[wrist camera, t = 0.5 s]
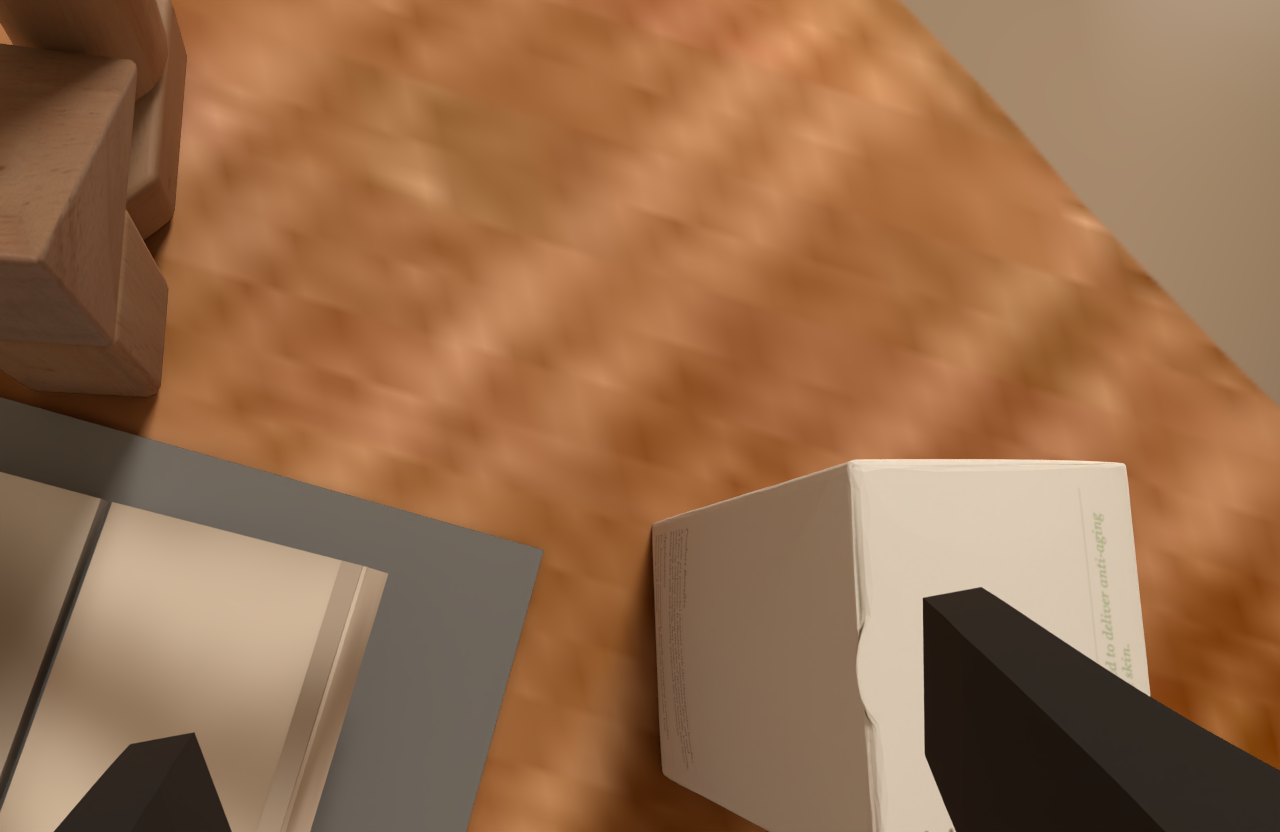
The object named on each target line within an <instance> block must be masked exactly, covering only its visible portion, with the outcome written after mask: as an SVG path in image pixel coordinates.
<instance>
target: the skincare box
mask: <svg viewBox="0 0 1280 832" xmlns="http://www.w3.org/2000/svg"><path fill="white" fill-rule="evenodd" d="M652 544H653V572H654V600H655V627H656V655H657V681H658V705H659V728H660V746H661V760H662V772H663V774H664V775H665V776H666V777H667V778H669V779H670V780H672V781H674V782H676V783H678V784H679V785H681V786H683V787H685V788H687V789H689V790H691V791H693V792H695V793H697V794H699V795H701V796H703V797H705V798H707V799H709V800H711V801H713V802H715V803H716V804H718V805H720V806H722V807H724V808H726V809H728V810H729V811H731V812H733V813H735V814H737V815H739V816H741V817H743V818H744V819H746V820H748V821H750V822H752V823H754V824H756V825H758V826H759V827H761V828H763V829H765V830H767V831H769V832H956V831H955V828H954V826H953V823H952V821H951V819H950V816H949V814H948V812H947V809H946V807H945V805H944V802H943V800H942V797H941V795H940V792H939V790H938V787H937V785H936V782H935V779H934V777H933V774H932V772H931V769H930V767H929V764H928V762H927V759H926V757H925V749H924V666H923V598H924V597H930V596H935V595H940V594H946V593H951V592H957V591H962V590H968V589H973V588H978V587H982V588H984V589H986V590H987V591H989V592H990V593H992V594H993V595H995V596H997V597H998V598H1000V599H1001V600H1003V601H1004V602H1006V603H1007V604H1009V605H1010V606H1012V607H1013V608H1015V609H1016V610H1018V611H1019V612H1021V613H1022V614H1024V615H1025V616H1027V617H1028V618H1030V619H1031V620H1033V621H1034V622H1036V623H1037V624H1039V625H1040V626H1042V627H1043V628H1045V629H1046V630H1048V631H1049V632H1051V633H1052V634H1054V635H1055V636H1057V637H1058V638H1060V639H1061V640H1063V641H1064V642H1066V643H1067V644H1069V645H1070V646H1072V647H1073V648H1075V649H1076V650H1078V651H1079V652H1081V653H1082V654H1084V655H1085V656H1087V657H1088V658H1090V659H1092V660H1093V661H1095V662H1096V663H1098V664H1099V665H1101V666H1102V667H1104V668H1105V669H1107V670H1109V671H1110V672H1112V673H1113V674H1115V675H1116V676H1118V677H1119V678H1121V679H1123V680H1124V681H1126V682H1127V683H1129V684H1131V685H1132V686H1134V687H1135V688H1137V689H1139V690H1140V691H1142V692H1143V693H1145V694H1147V695H1148V696H1150V688H1149V678H1148V669H1147V659H1146V650H1145V640H1144V631H1143V622H1142V613H1141V603H1140V594H1139V585H1138V575H1137V565H1136V556H1135V546H1134V537H1133V527H1132V517H1131V508H1130V498H1129V487H1128V479H1127V471H1126V465H1125V464H1124V463H1115V462H1095V461H1067V460H1001V459H870V460H852V461H849V462H846V463H843V464H840V465H837V466H834V467H831V468H828V469H825V470H822V471H819V472H815V473H812V474H809V475H805V476H802V477H799V478H796V479H793V480H790V481H786V482H783V483H780V484H777V485H774V486H771V487H767V488H764V489H760V490H757V491H754V492H750V493H747V494H744V495H741V496H738V497H735V498H732V499H729V500H726V501H722V502H718V503H715V504H712V505H709V506H706V507H702V508H699V509H695V510H692V511H688V512H686V513H683V514H679V515H676V516H673V517H671V518H667V519H664V520H662V521H659V522H656V523H654V524H653V527H652Z"/></svg>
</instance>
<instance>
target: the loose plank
mask: <svg viewBox="0 0 1280 832" xmlns="http://www.w3.org/2000/svg"><path fill="white" fill-rule="evenodd" d="M387 577H388V573H385V572H382V571H378V570H375V569H372V568H369V567H365V566H362V565H358V564H354V563H350V562H346V561H342V560H338V559H334V558H330V557H326V556H322V555H318V554H314V553H310V552H306V551H303V550H299V549H295V548H291V547H287V546H283V545H279V544H275V543H271V542H267V541H263V540H259V539H256V538H252V537H248V536H244V535H240V534H236V533H232V532H228V531H224V530H220V529H216V528H212V527H209V526H205V525H201V524H197V523H193V522H189V521H185V520H181V519H177V518H173V517H169V516H165V515H162V514H158V513H154V512H150V511H146V510H142V509H138V508H134V507H130V506H126V505H122V504H118V503H115V502H112V504H111V507H110V510H109V512H108V515H107V518H106V521H105V523H104V526H103V529H102V532H101V534H100V537H99V540H98V543H97V546H96V548H95V551H94V554H93V557H92V559H91V562H90V565H89V568H88V570H87V573H86V576H85V579H84V582H83V584H82V587H81V590H80V593H79V595H78V598H77V601H76V604H75V607H74V609H73V612H72V615H71V618H70V620H69V623H68V626H67V629H66V631H65V634H64V637H63V640H62V643H61V645H60V648H59V651H58V654H57V656H56V659H55V662H54V665H53V667H52V670H51V673H50V676H49V679H48V681H47V684H46V687H45V690H44V692H43V695H42V698H41V701H40V703H39V706H38V709H37V712H36V715H35V717H34V720H33V723H32V726H31V728H30V731H29V734H28V737H27V740H26V742H25V745H24V748H23V751H22V753H21V756H20V759H19V762H18V764H17V767H16V770H15V773H14V776H13V778H12V781H11V784H10V787H9V789H8V792H7V795H6V798H5V800H4V803H3V806H2V809H1V812H0V832H54V831H55V829H56V828H57V827H58V826H59V825H60V824H61V822H62V821H63V820H64V819H65V818H66V817H67V815H68V814H69V813H70V812H71V811H72V809H73V808H74V807H75V806H76V805H77V804H78V802H79V801H80V800H81V799H82V798H83V797H84V795H85V794H86V793H87V792H88V791H89V790H90V788H91V787H92V786H93V785H94V784H95V783H96V781H97V780H98V779H99V778H100V777H101V776H102V774H103V773H104V772H105V771H106V770H107V769H108V768H109V766H110V765H111V764H112V763H113V762H114V761H115V760H116V759H117V758H118V757H119V755H120V754H121V753H122V752H123V751H124V750H125V749H126V748H127V747H128V746H129V745H130V744H133V743H139V742H144V741H149V740H155V739H160V738H166V737H171V736H176V735H182V734H187V733H193V732H195V735H196V738H197V740H198V743H199V746H200V748H201V751H202V754H203V756H204V759H205V762H206V764H207V767H208V770H209V772H210V775H211V778H212V780H213V783H214V785H215V788H216V791H217V793H218V796H219V799H220V801H221V804H222V807H223V809H224V812H225V815H226V817H227V820H228V823H229V825H230V828H231V831H232V832H310V831H311V827H312V824H313V821H314V817H315V814H316V811H317V807H318V804H319V801H320V798H321V794H322V791H323V788H324V784H325V781H326V778H327V775H328V771H329V768H330V765H331V761H332V758H333V755H334V751H335V748H336V745H337V742H338V738H339V735H340V732H341V728H342V725H343V722H344V719H345V715H346V712H347V709H348V705H349V702H350V699H351V695H352V692H353V689H354V686H355V682H356V679H357V676H358V672H359V669H360V666H361V663H362V659H363V656H364V653H365V649H366V646H367V643H368V639H369V636H370V633H371V630H372V626H373V623H374V620H375V616H376V613H377V610H378V607H379V603H380V600H381V597H382V593H383V590H384V587H385V583H386V580H387Z"/></svg>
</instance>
